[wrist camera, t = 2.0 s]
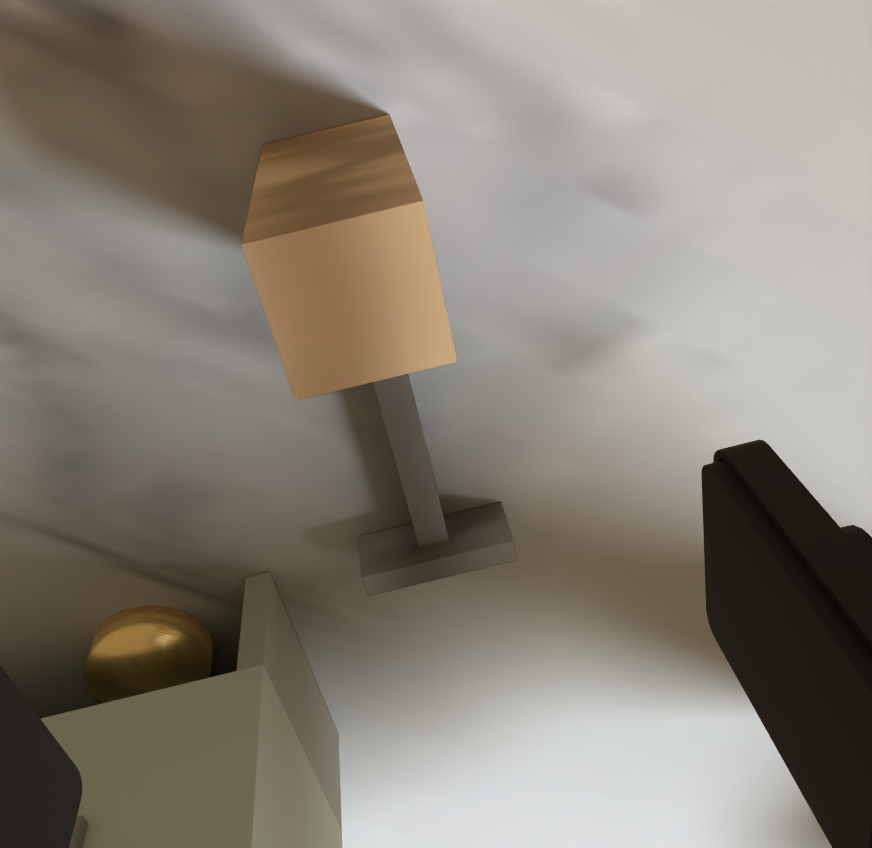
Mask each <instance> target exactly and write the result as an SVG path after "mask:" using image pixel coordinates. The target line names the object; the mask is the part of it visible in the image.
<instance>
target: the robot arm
mask: <svg viewBox="0 0 872 848" xmlns="http://www.w3.org/2000/svg"><path fill="white" fill-rule="evenodd" d="M702 498H703V527H704V555H705V584H706V610H707V617H708V621H709V624H710V628H711V630H712V633H713V635H714V637H715V639H716V641H717V643H718V644H719V646H720V648H721V650H722V652H723V653H724V655H725V657H726V659H727V661H728V662H729V664H730V666H731V668H732V669H733V671H734V673H735V675H736V677H737V678H738V680H739V682H740V684H741V686H742V687H743V689H744V691H745V693H746V694H747V696H748V698H749V700H750V702H751V703H752V705H753V707H754V709H755V710H756V712H757V714H758V716H759V718H760V719H761V721H762V723H763V725H764V727H765V728H766V730H767V732H768V734H769V735H770V737H771V739H772V741H773V743H774V744H775V746H776V748H777V750H778V751H779V753H780V755H781V757H782V759H783V760H784V762H785V764H786V766H787V768H788V769H789V771H790V773H791V775H792V776H793V778H794V780H795V782H796V784H797V785H798V787H799V789H800V791H801V793H802V794H803V796H804V798H805V800H806V801H807V803H808V805H809V807H810V809H811V810H812V812H813V814H814V816H815V817H816V819H817V821H818V823H819V825H820V826H821V828H822V830H823V832H824V834H825V835H826V837H827V839H828V841H829V842H830V844H831V846H832V848H872V537H871V536H870V535H869V534H868V533H866V532H865V531H864V530H863V529H862V528H859V527H857V526H854V525H851V526H846V527H842V528H840V527H839V526H838V525H837V523H836V522H835V521H834V520H833V519H832V518H831V517H830V515H829V514H828V513H827V512H826V511H825V510H824V508H823V507H822V506H821V505H820V504H819V503H818V501H817V500H816V499H815V498H814V497H813V496H812V495H811V493H810V492H809V491H808V490H807V489H806V488H805V486H804V485H803V484H802V483H801V482H800V481H799V479H798V478H797V477H796V476H795V475H794V474H793V473H792V471H791V470H790V469H789V468H788V467H787V466H786V464H785V463H784V462H783V461H782V460H781V459H780V458H779V456H778V455H777V454H776V453H775V452H774V451H773V449H772V448H771V447H770V446H769V445H768V444H767V443H766V442H765V441H762V440H756V441H752V442H748V443H744V444H740V445H736V446H732V447H728V448H724V449H720V450H718V451H716V452H715V455H714V461H713V463H712V464H708V465H705V466H703V468H702ZM81 798H82V779H81V775H80V772H79V770H78V768H77V767H76V765H75V764H74V763H73V761H72V760H71V759H70V757H69V756H68V755H67V753H66V752H65V751H64V749H63V748H62V747H61V745H60V744H59V743H58V741H57V740H56V739H55V737H54V736H53V735H52V734H51V732H50V731H49V730H48V728H47V727H46V726H45V724H44V723H43V722H42V720H41V719H40V718H39V716H38V715H37V714H36V712H35V711H34V710H33V708H32V707H31V706H30V704H29V703H28V702H27V700H26V699H25V698H24V697H23V695H22V694H21V693H20V691H19V690H18V689H17V687H16V686H15V685H14V683H13V682H12V681H11V679H10V678H9V677H8V675H7V674H6V673H5V671H4V670H3V669H2V667H1V666H0V848H69V845H70V841H71V837H72V833H73V830H74V826H75V822H76V818H77V814H78V810H79V806H80V802H81Z"/></svg>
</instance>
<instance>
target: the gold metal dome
mask: <svg viewBox="0 0 872 848" xmlns="http://www.w3.org/2000/svg"><path fill="white" fill-rule="evenodd" d="M212 656H213V642H212V639H211V636H210V634H209V632H208V631H207V629H206V628H205V627H204V626H203V625H202V624H201V623H200V622H199V621H198V620H196V619H195V618H193V617H192V616H190V615H188V614H186V613H184V612H182V611H179V610H176V609H172V608H168V607H162V606H140V607H134V608H129V609H126V610H123V611H121V612H118V613H116V614H114V615H112V616H111V617H109V618H108V619H107V620H105V621H104V622H103V623H102V624H101V625H100V627H99V628H98V629H97V631H96V633H95V635H94V639H93V642H92V645H91V649H90V652H89V655H88V659H87V662H86V666H85V669H84V679H85V683H86V686H87V688H88V690H89V691H90V693H91V694H92V695H93V696H94V697H95V698H96V699H97V700H98V701H99V702H101V703H102V704H103V703H107V702H111V701H115V700H119V699H123V698H127V697H132V696H136V695H140V694H144V693H148V692H152V691H156V690H160V689H165V688H169V687H173V686H177V685H181V684H185V683H189V682H193V681H198V680H202V679H206V678H210V671H211V664H212Z"/></svg>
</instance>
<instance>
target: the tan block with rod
mask: <svg viewBox="0 0 872 848" xmlns="http://www.w3.org/2000/svg"><path fill="white" fill-rule="evenodd" d="M241 245H242V248H243V251H244V254H245V257H246V260H247V263H248V266H249V268H250V271H251V274H252V277H253V280H254V283H255V286H256V289H257V292H258V294H259V297H260V300H261V303H262V306H263V309H264V312H265V315H266V317H267V320H268V323H269V326H270V329H271V332H272V335H273V338H274V340H275V343H276V346H277V349H278V352H279V355H280V358H281V361H282V363H283V366H284V369H285V372H286V375H287V378H288V381H289V384H290V386H291V389H292V392H293V395H294V398H295V401H297V400H301V399H305V398H309V397H313V396H317V395H321V394H326V393H330V392H334V391H338V390H342V389H346V388H350V387H355V386H359V385H363V384H367V383H371V382H373V385H374V389H375V392H376V396H377V399H378V403H379V406H380V410H381V414H382V417H383V421H384V424H385V428H386V431H387V435H388V438H389V442H390V445H391V449H392V453H393V456H394V460H395V463H396V467H397V470H398V474H399V477H400V481H401V484H402V488H403V492H404V495H405V499H406V502H407V506H408V509H409V513H410V516H411V520H412V523H411V524H407V525H403V526H399V527H394V528H390V529H386V530H382V531H378V532H374V533H370V534H366V535H361V536H359V547H360V561H361V574H362V580H363V583H364V586H365V589H366V591H367V594H368V596H370V595H374V594H378V593H383V592H387V591H391V590H395V589H399V588H403V587H407V586H411V585H416V584H420V583H424V582H428V581H432V580H436V579H440V578H445V577H449V576H453V575H457V574H461V573H465V572H469V571H473V570H478V569H482V568H486V567H490V566H494V565H498V564H502V563H507V562H511V561H515V560H517V558H516V553H515V548H514V543H513V539H512V536H511V533H510V530H509V527H508V524H507V520H506V517H505V514H504V511H503V508H502V505H501V502H498V503H494V504H490V505H485V506H481V507H477V508H473V509H469V510H465V511H461V512H456V513H452V514H448V515H444V514H443V510H442V507H441V503H440V499H439V495H438V491H437V487H436V483H435V479H434V475H433V471H432V467H431V463H430V459H429V455H428V451H427V447H426V443H425V439H424V435H423V431H422V427H421V424H420V420H419V416H418V412H417V408H416V404H415V400H414V396H413V392H412V388H411V384H410V380H409V376H408V373H412V372H417V371H421V370H425V369H429V368H433V367H437V366H441V365H446V364H450V363H454V362H457V358H456V353H455V348H454V343H453V339H452V334H451V329H450V325H449V320H448V315H447V310H446V306H445V301H444V296H443V292H442V287H441V282H440V278H439V273H438V268H437V263H436V259H435V254H434V249H433V245H432V240H431V235H430V230H429V226H428V221H427V216H426V212H425V207H424V202H423V199H422V196H421V194H420V191H419V189H418V186H417V184H416V181H415V179H414V176H413V173H412V171H411V168H410V166H409V163H408V161H407V158H406V156H405V153H404V150H403V148H402V145H401V143H400V140H399V138H398V135H397V132H396V130H395V127H394V125H393V122H392V120H391V117H390V115H385V116H380V117H376V118H372V119H368V120H364V121H360V122H356V123H351V124H347V125H343V126H339V127H335V128H331V129H326V130H322V131H318V132H314V133H310V134H306V135H302V136H297V137H293V138H289V139H285V140H281V141H277V142H273V143H268V144H264V145H262V150H261V154H260V159H259V164H258V168H257V173H256V178H255V183H254V187H253V192H252V197H251V201H250V206H249V211H248V215H247V220H246V225H245V229H244V234H243V239H242V243H241Z"/></svg>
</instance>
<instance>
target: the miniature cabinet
mask: <svg viewBox="0 0 872 848" xmlns="http://www.w3.org/2000/svg"><path fill="white" fill-rule="evenodd" d="M41 720H42V722H43V723H44V724H45V726H46V727H47V728H48V730H49V731H50V732H51V734H52V735H53V736H54V737H55V739H56V740H57V741H58V743H59V744H60V745H61V747H62V748H63V749H64V751H65V752H66V753H67V755H68V756H69V757H70V759H71V760H72V761H73V763H74V764H75V765H76V767H77V768H78V770H79V772H80V775H81V779H82V798H81V802H80V806H79V810H78V814H77V818H76V822H75V826H74V830H73V833H72V837H71V841H70V845H69V848H342V827H341V797H340V766H339V736H338V732H337V729H336V727H335V725H334V722H333V720H332V718H331V715H330V713H329V711H328V708H327V706H326V704H325V701H324V699H323V697H322V694H321V692H320V690H319V687H318V685H317V682H316V680H315V678H314V675H313V673H312V671H311V668H310V666H309V664H308V661H307V659H306V657H305V654H304V652H303V650H302V647H301V645H300V643H299V640H298V638H297V636H296V633H295V631H294V629H293V626H292V624H291V621H290V619H289V617H288V614H287V612H286V610H285V607H284V605H283V603H282V600H281V598H280V596H279V593H278V591H277V589H276V586H275V584H274V582H273V579H272V577H271V575H270V572H265V573H261V574H257V575H253V576H249V577H246V580H245V591H244V601H243V611H242V621H241V631H240V641H239V651H238V661H237V671H235V672H231V673H226V674H222V675H218V676H214V677H210V678H206V679H202V680H198V681H193V682H189V683H185V684H181V685H177V686H173V687H169V688H165V689H160V690H156V691H152V692H148V693H144V694H140V695H136V696H132V697H127V698H123V699H119V700H115V701H111V702H107V703H103V704H98V705H94V706H90V707H86V708H82V709H78V710H74V711H70V712H65V713H61V714H57V715H53V716H49V717H45V718H41Z"/></svg>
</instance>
